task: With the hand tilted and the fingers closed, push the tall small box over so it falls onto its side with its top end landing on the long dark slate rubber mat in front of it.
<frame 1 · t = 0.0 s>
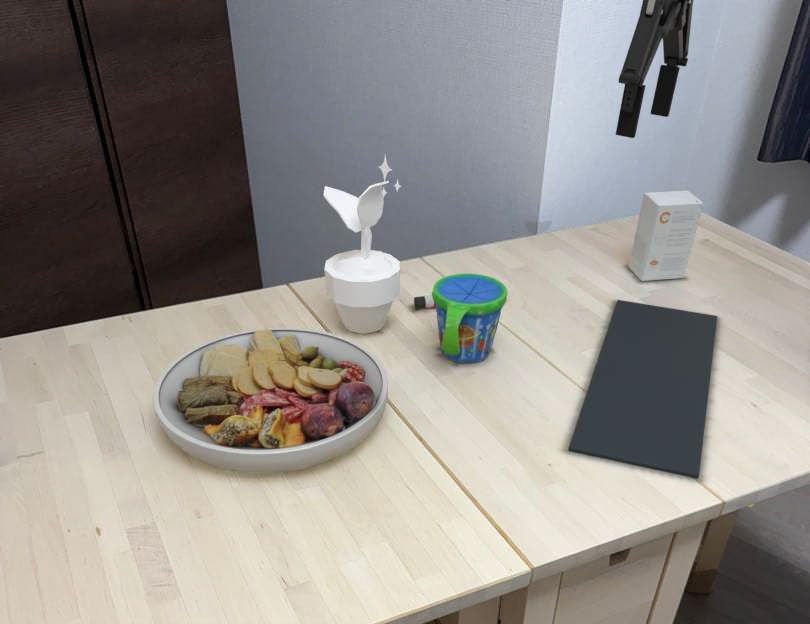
hand: (642, 125, 112), 25 cm above the table, tool pointing down, fingers open, 13 cm apart
potted plant: (362, 325, 118), on the table
bowl: (276, 416, 100), on the table
slate mat: (651, 376, 108), on the table
marker: (459, 305, 124), on the table
snack cup: (465, 353, 112), on the table
small box: (654, 273, 133), on the table
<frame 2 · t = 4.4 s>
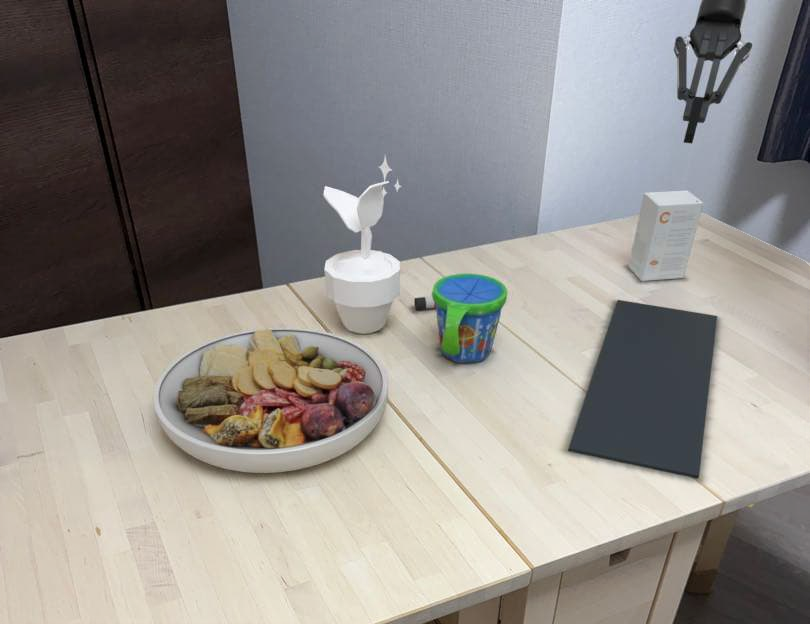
hand: (688, 138, 128), 19 cm above the table, tool tilted 45°, fingers closed
nothing on the table moved.
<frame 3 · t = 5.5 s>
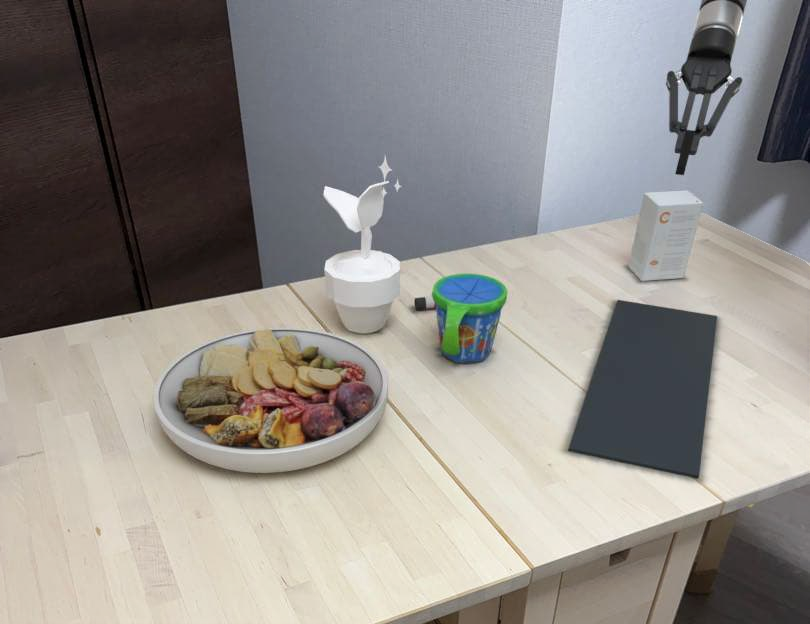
hand: (680, 170, 131), 14 cm above the table, tool tilted 45°, fingers closed
nothing on the table moved.
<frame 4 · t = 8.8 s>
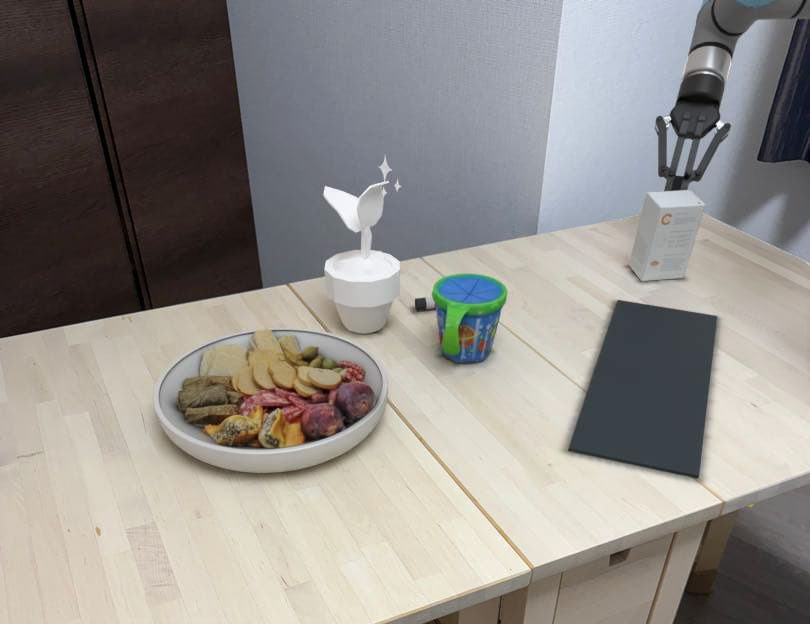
hand: (669, 215, 130), 8 cm above the table, tool tilted 45°, fingers closed
small box: (655, 272, 133), on the table, touching gripper
everything else where it was.
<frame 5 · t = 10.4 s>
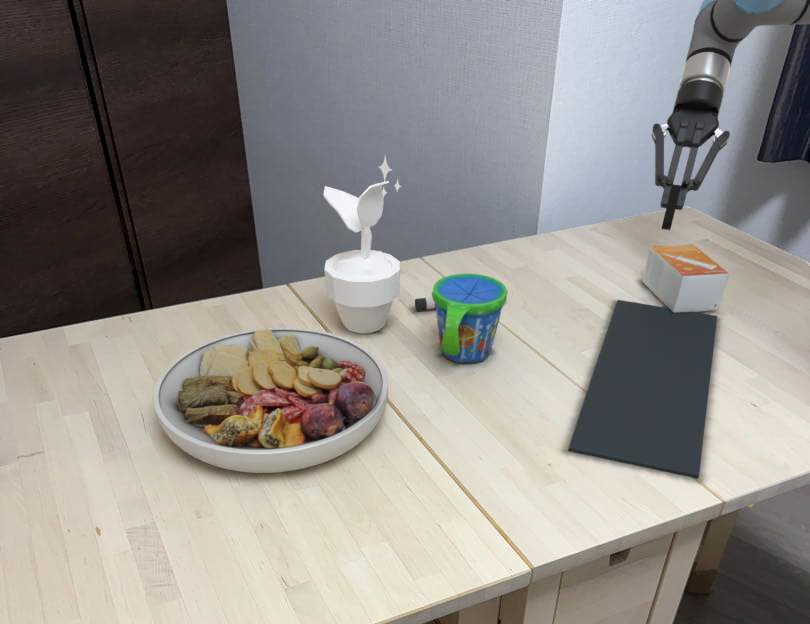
hand: (666, 225, 127), 8 cm above the table, tool tilted 45°, fingers closed
small box: (666, 262, 129), point 3 cm above the table, touching slate mat
everything else where it was.
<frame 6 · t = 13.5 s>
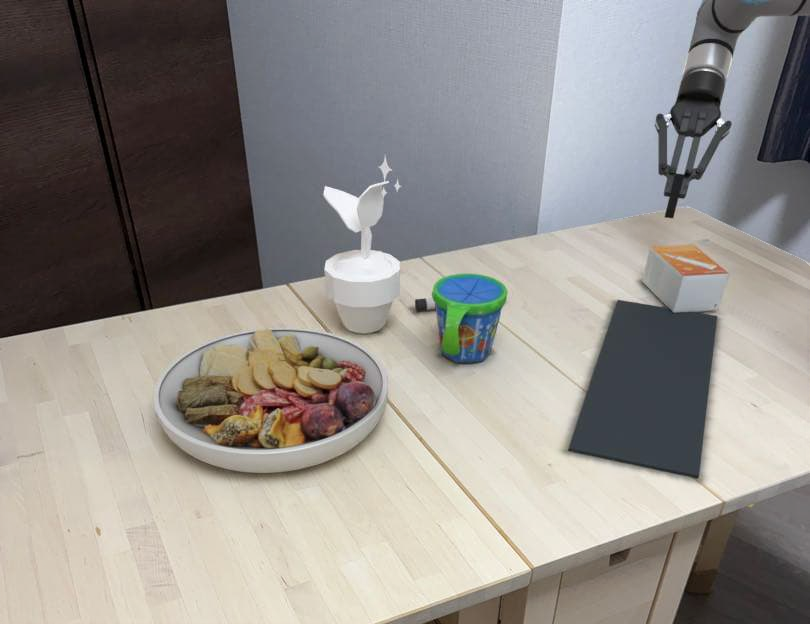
hand: (669, 214, 129), 9 cm above the table, tool tilted 45°, fingers closed
nothing on the table moved.
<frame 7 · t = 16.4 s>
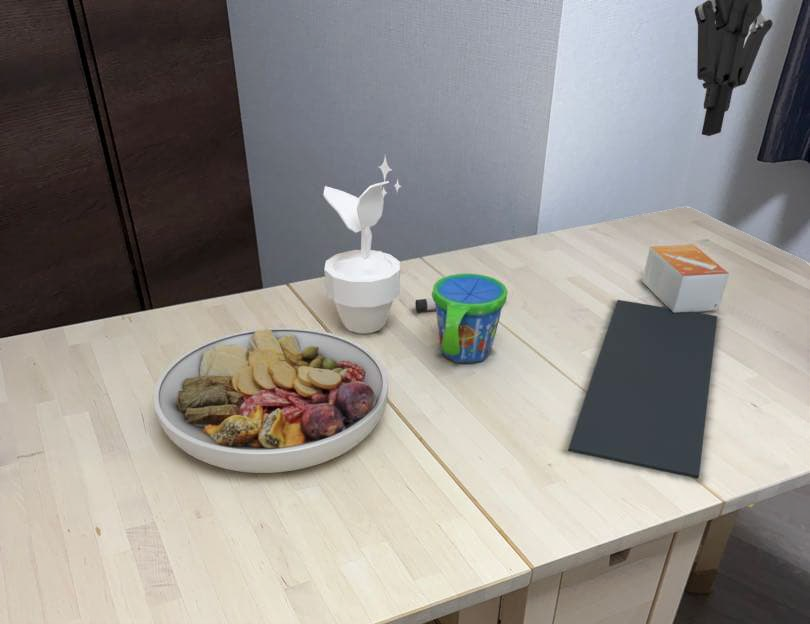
hand: (711, 133, 117), 23 cm above the table, tool tilted 30°, fingers closed
nothing on the table moved.
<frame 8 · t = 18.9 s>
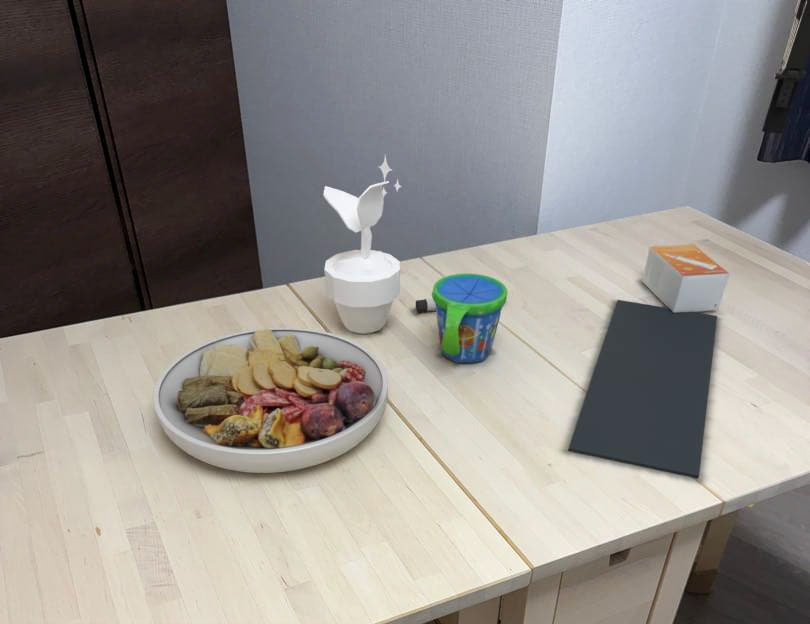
hand: (772, 131, 106), 26 cm above the table, tool pointing down, fingers closed
at the end: small box tilted 88°; small box touching slate mat, table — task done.
